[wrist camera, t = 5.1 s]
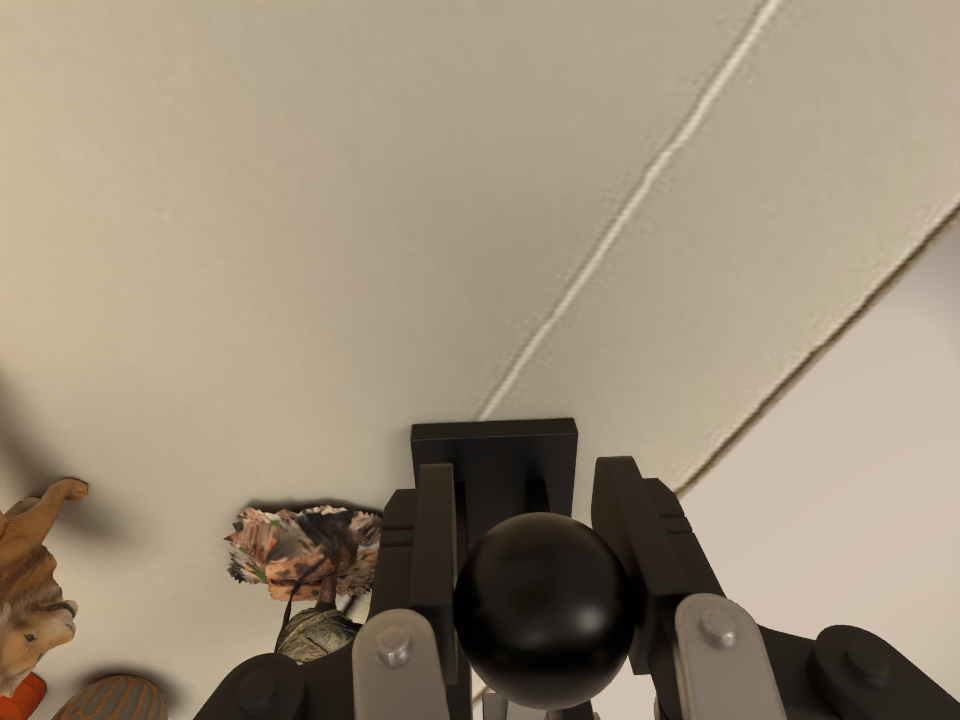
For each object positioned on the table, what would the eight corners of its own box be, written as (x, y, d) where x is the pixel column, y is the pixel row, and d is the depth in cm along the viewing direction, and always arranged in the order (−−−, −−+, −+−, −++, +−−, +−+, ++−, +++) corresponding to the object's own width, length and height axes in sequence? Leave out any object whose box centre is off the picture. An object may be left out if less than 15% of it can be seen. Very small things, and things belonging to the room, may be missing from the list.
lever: (448, 483, 10) (449, 687, 8) (627, 475, 10) (679, 674, 8) (469, 700, 21) (471, 805, 19) (551, 695, 22) (563, 800, 19)
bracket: (412, 424, 27) (378, 725, 15) (573, 417, 27) (667, 709, 15) (426, 563, 32) (409, 871, 20) (563, 556, 32) (626, 858, 20)
